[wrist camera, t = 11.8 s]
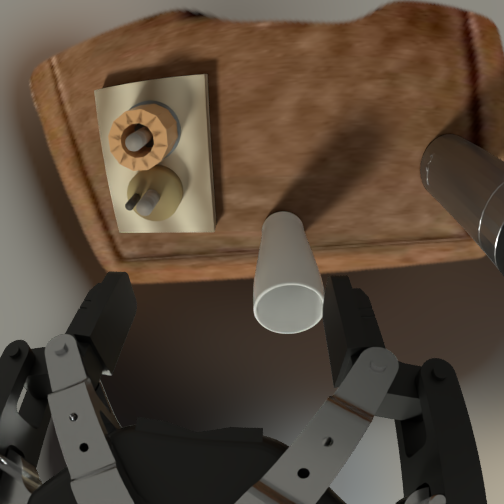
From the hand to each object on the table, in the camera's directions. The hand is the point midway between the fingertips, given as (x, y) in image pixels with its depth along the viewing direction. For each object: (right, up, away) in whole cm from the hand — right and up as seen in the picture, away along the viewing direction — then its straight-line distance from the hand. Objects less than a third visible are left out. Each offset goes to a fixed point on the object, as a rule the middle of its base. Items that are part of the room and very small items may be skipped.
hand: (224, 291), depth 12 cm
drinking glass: (+5, +5, +28) cm, 29 cm away
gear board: (-10, +13, +23) cm, 28 cm away
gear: (-10, +15, +19) cm, 26 cm away
